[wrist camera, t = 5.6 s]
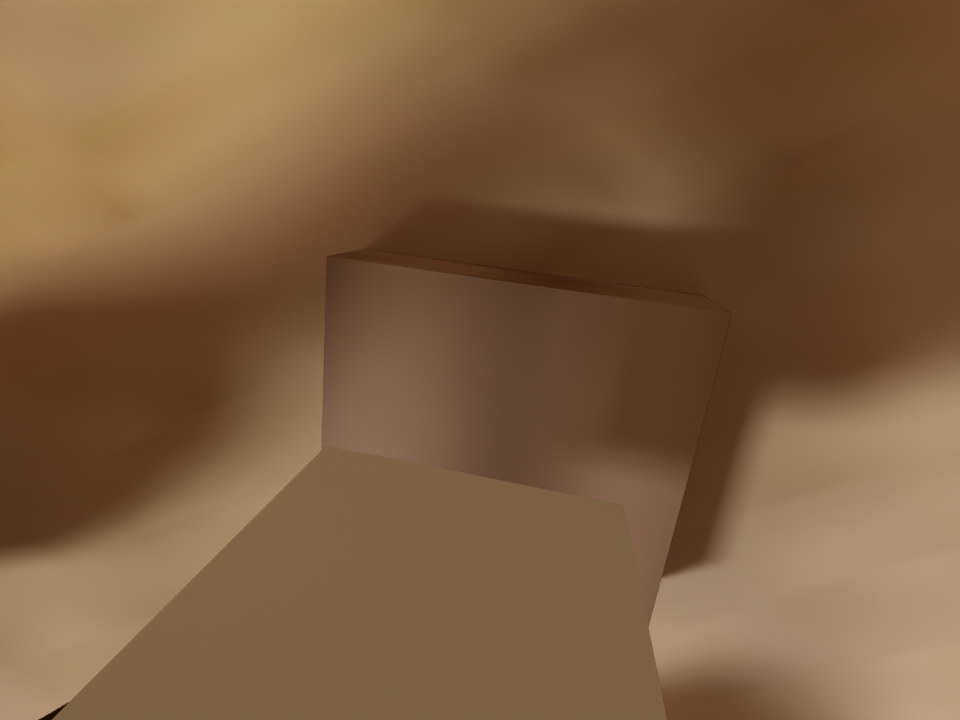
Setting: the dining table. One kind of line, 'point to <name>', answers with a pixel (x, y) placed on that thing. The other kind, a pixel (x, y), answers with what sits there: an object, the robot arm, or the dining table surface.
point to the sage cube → (399, 609)
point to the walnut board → (524, 381)
